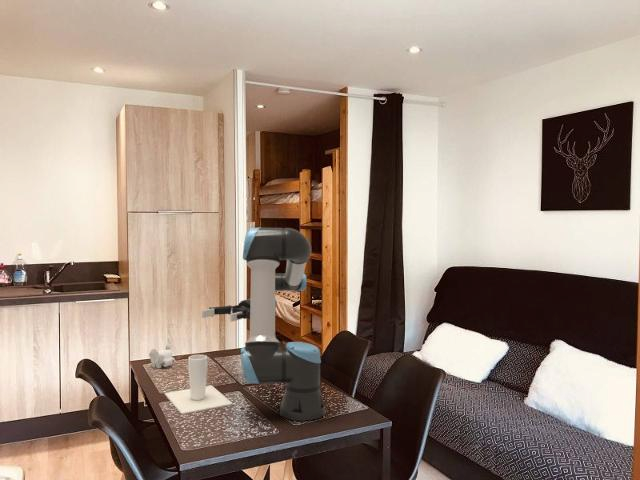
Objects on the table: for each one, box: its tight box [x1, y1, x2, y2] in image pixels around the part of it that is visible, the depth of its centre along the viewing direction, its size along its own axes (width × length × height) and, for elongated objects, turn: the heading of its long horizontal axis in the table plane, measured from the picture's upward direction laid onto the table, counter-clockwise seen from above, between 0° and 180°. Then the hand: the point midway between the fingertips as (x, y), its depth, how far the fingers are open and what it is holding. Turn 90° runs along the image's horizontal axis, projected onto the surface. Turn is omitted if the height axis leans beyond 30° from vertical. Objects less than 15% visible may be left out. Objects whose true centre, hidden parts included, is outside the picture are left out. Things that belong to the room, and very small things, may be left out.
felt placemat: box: [164, 385, 233, 416], centre depth 180 cm, size 22×18×1 cm
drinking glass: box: [187, 354, 209, 400], centre depth 179 cm, size 7×7×15 cm
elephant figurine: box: [148, 344, 177, 369], centre depth 218 cm, size 10×12×9 cm
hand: (216, 316), depth 187 cm, fingers open, 13 cm apart
